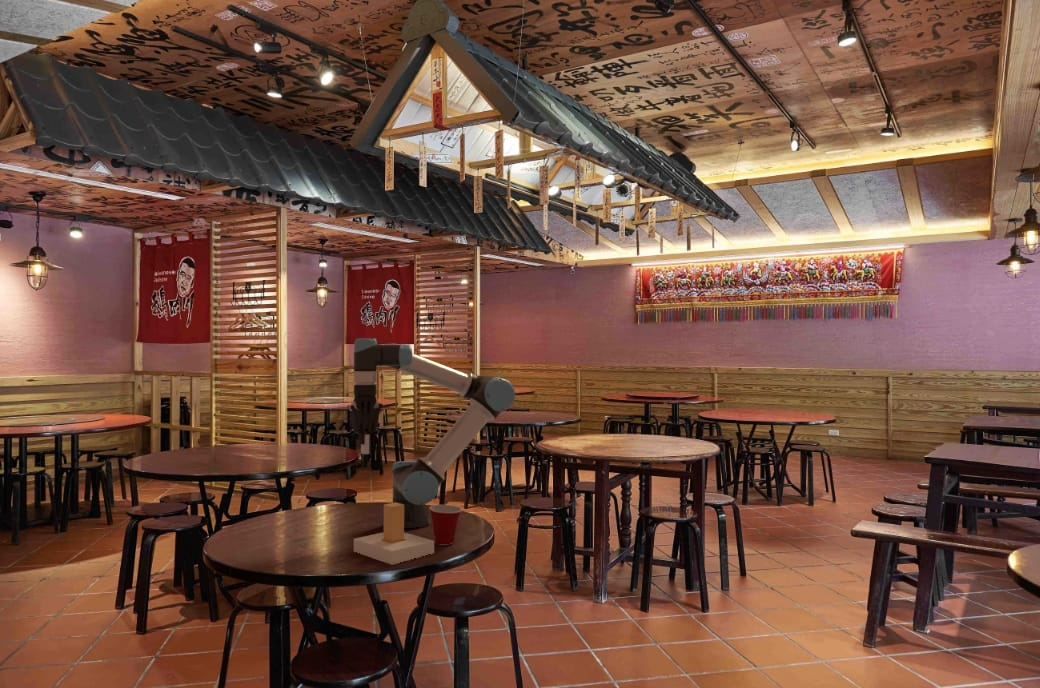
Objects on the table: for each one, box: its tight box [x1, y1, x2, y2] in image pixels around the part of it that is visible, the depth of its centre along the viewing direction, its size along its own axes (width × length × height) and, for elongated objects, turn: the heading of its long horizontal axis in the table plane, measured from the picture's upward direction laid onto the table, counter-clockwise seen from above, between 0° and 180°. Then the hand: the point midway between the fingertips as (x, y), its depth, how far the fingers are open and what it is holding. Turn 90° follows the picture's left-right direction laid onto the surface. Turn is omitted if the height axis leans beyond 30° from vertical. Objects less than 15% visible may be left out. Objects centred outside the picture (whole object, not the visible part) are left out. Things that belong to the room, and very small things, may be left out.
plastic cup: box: [428, 504, 463, 545], centre depth 232 cm, size 11×11×12 cm
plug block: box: [383, 502, 405, 543], centre depth 222 cm, size 4×4×15 cm
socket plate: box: [353, 531, 435, 566], centre depth 222 cm, size 16×20×4 cm
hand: (365, 453), depth 240 cm, fingers closed
